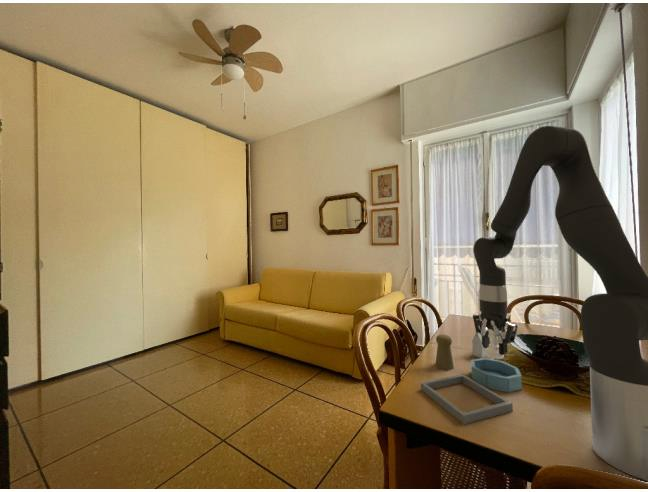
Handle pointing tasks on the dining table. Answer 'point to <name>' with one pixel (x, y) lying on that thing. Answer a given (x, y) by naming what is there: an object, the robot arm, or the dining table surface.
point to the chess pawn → (493, 347)
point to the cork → (444, 352)
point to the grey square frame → (477, 414)
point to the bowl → (496, 374)
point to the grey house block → (478, 346)
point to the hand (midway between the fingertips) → (494, 350)
